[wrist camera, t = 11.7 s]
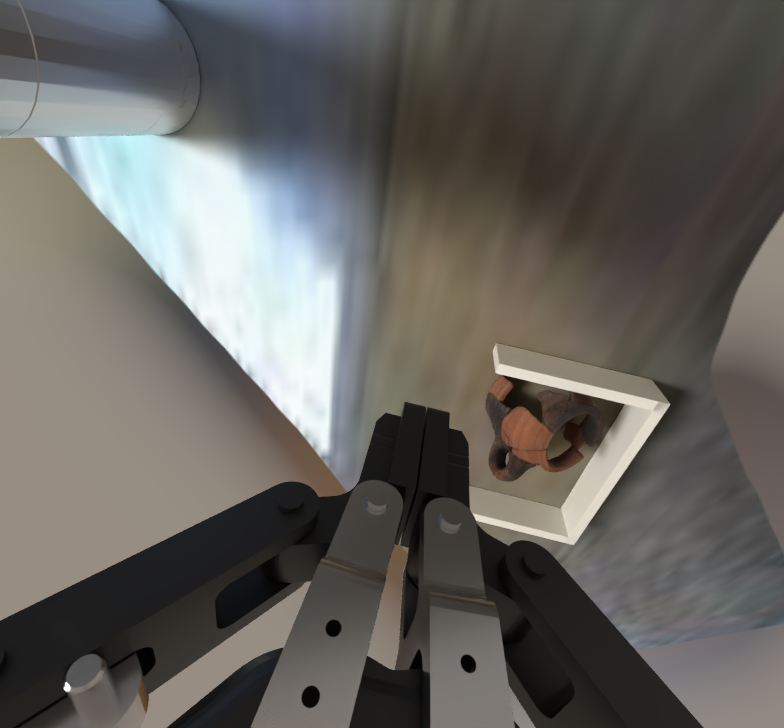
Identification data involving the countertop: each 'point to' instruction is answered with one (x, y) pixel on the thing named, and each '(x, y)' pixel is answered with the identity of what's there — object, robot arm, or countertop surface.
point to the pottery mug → (538, 431)
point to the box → (605, 464)
